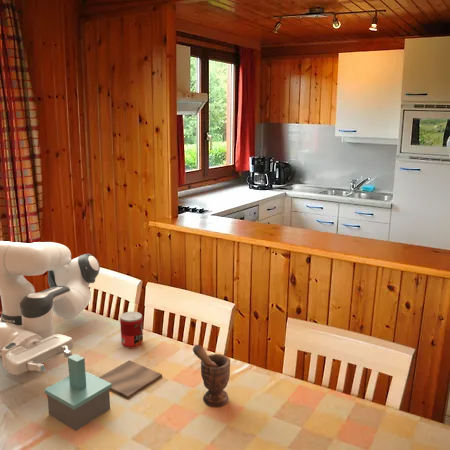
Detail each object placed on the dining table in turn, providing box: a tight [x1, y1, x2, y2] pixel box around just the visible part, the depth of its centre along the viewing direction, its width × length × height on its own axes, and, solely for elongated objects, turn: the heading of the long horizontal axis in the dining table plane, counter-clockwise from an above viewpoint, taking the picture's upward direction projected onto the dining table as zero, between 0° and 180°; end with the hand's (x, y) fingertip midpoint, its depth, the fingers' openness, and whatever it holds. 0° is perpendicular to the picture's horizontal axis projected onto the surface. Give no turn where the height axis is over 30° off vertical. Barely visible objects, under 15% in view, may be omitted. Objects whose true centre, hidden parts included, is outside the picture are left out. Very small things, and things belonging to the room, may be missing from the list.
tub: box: [46, 389, 111, 432], centre depth 138 cm, size 12×12×7 cm
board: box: [99, 360, 163, 400], centre depth 155 cm, size 15×15×1 cm
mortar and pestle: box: [192, 344, 231, 408], centre depth 142 cm, size 12×9×20 cm
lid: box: [43, 353, 112, 410], centre depth 136 cm, size 13×13×11 cm
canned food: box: [119, 311, 144, 349], centre depth 178 cm, size 8×8×11 cm
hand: (56, 361), depth 142 cm, fingers open, 8 cm apart
